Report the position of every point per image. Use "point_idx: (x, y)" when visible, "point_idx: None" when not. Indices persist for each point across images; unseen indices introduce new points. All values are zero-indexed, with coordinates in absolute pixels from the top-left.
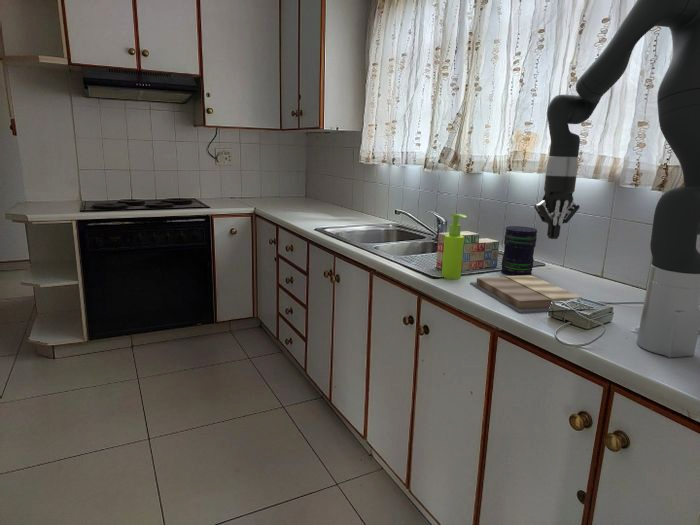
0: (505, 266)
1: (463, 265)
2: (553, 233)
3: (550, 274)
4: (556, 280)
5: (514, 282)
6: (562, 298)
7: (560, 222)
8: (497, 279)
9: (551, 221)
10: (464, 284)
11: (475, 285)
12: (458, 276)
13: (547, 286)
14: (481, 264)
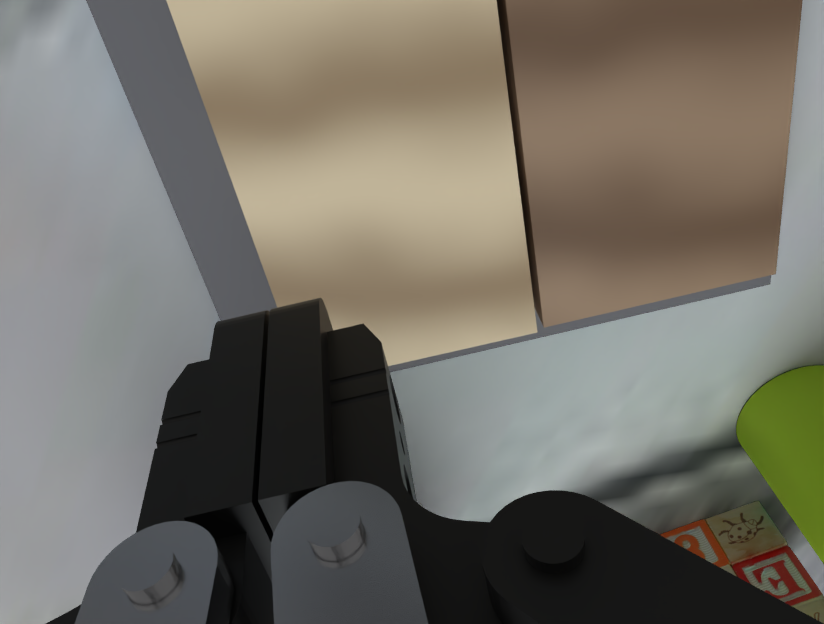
0: None
1: None
2: (324, 361)
3: (79, 557)
4: (72, 442)
5: (539, 177)
6: None
7: (152, 592)
8: (639, 247)
9: (442, 587)
10: (805, 266)
11: None
12: (784, 387)
13: (292, 63)
14: None
